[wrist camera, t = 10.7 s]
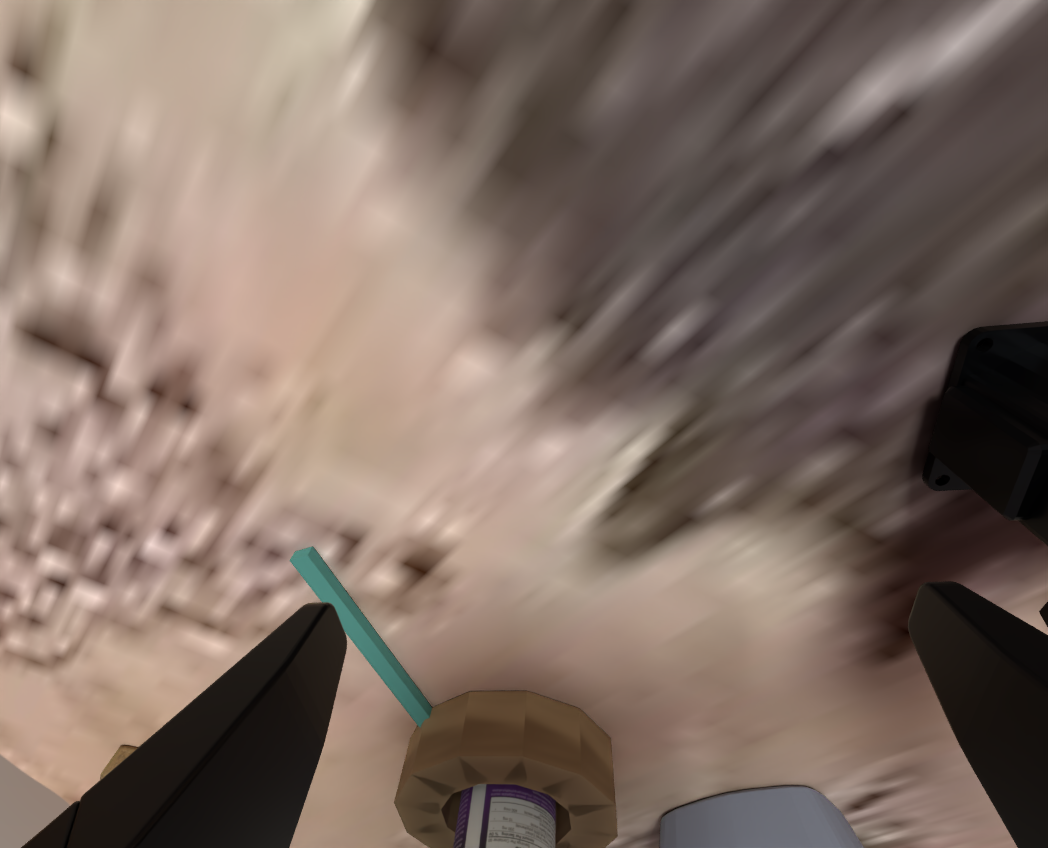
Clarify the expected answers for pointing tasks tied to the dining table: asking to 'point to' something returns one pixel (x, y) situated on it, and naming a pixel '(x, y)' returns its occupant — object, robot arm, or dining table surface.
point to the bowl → (759, 821)
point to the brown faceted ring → (509, 765)
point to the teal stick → (361, 632)
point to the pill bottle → (505, 818)
